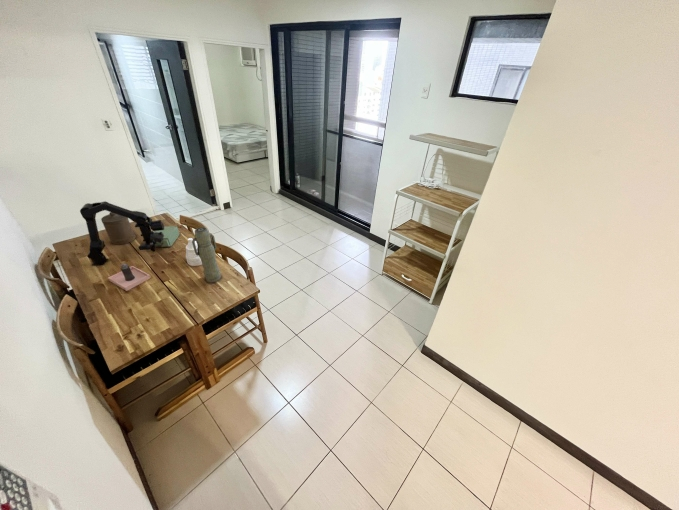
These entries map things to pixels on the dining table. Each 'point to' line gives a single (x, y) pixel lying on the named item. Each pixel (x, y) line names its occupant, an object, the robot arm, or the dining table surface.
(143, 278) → the tray
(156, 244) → the drawer
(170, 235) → the cabinet
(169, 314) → the dining table surface
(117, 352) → the dining table surface
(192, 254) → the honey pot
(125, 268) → the pepper mill
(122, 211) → the robot arm
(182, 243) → the dining table surface
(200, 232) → the thermos
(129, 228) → the wooden container
